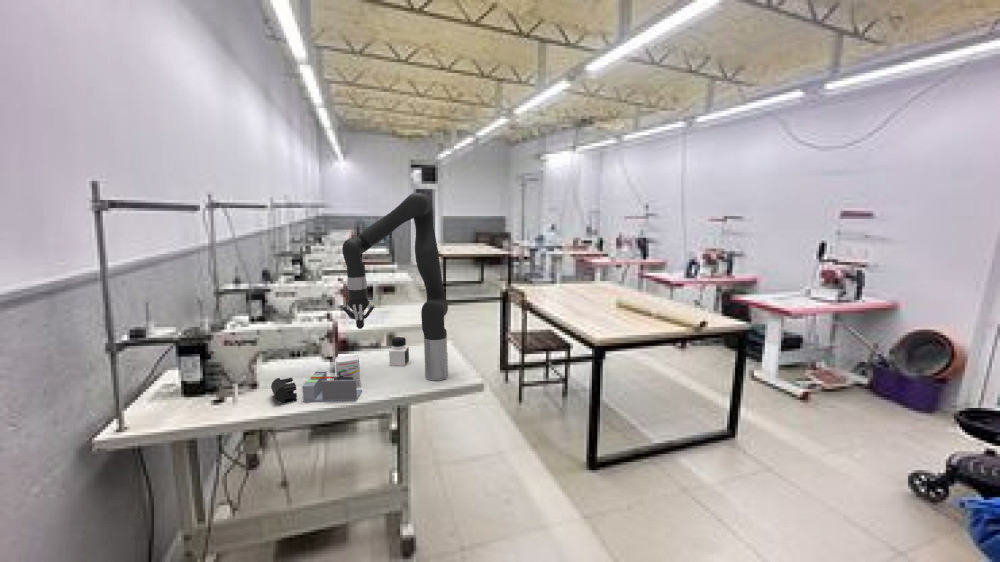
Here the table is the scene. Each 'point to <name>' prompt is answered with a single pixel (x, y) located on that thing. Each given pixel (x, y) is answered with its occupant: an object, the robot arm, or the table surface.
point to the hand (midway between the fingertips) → (360, 328)
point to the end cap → (284, 390)
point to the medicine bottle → (399, 352)
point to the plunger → (333, 377)
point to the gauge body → (329, 389)
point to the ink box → (348, 368)
